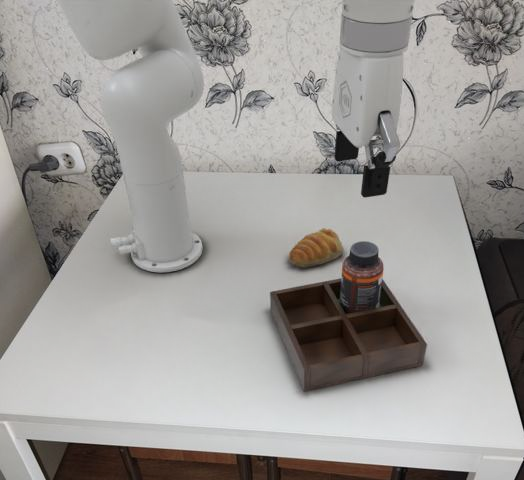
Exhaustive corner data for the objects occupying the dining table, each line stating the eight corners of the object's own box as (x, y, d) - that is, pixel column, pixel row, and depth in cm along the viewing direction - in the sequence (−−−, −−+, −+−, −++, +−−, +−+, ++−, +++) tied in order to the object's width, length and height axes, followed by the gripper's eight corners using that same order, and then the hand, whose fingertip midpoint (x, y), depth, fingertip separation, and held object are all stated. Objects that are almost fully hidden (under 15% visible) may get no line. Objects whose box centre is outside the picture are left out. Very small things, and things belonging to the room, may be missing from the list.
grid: (304, 391, 80) (304, 370, 77) (270, 312, 92) (269, 291, 89) (422, 365, 83) (427, 344, 80) (374, 291, 95) (377, 271, 92)
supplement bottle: (386, 313, 90) (395, 251, 82) (356, 328, 87) (362, 266, 80) (360, 293, 93) (366, 232, 86) (331, 308, 91) (334, 246, 83)
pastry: (305, 276, 98) (306, 257, 96) (279, 259, 102) (279, 240, 100) (346, 254, 103) (347, 236, 100) (319, 239, 106) (320, 220, 104)
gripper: (317, 13, 70) (311, 150, 82) (372, 62, 58) (355, 215, 70) (376, 7, 71) (361, 143, 83) (442, 54, 59) (414, 206, 71)
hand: (359, 176), depth 76 cm, fingers open, 9 cm apart
